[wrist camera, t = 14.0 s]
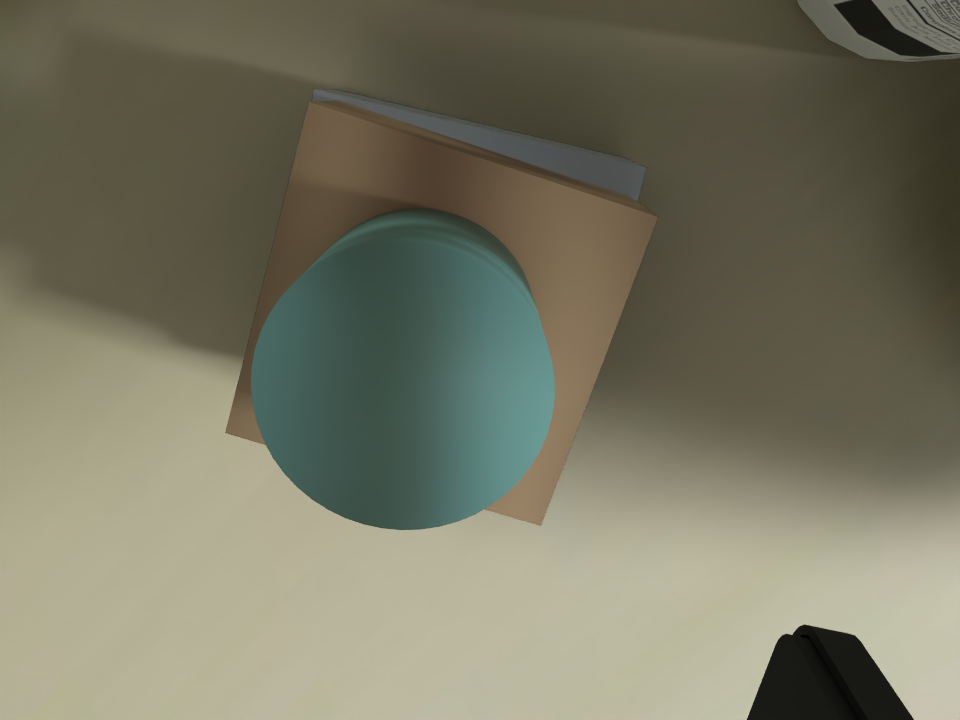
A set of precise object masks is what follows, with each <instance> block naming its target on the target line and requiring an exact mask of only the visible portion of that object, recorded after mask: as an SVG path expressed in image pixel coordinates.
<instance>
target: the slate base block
mask: <svg viewBox="0 0 960 720" xmlns="http://www.w3.org/2000/svg"><path fill="white" fill-rule="evenodd" d="M312 101H342V102H345V103H348V104H351V105H354V106H357V107H360V108H363V109H366V110H369V111H372V112H375V113H378V114H381V115H384V116H387V117H390V118H393V119H396V120H399V121H403V122H406V123H409V124H412V125H415V126H418V127H421V128H424V129H427V130H430V131H433V132H436V133H439V134H442V135H445V136H448V137H451V138H454V139H457V140H460V141H463V142H466V143H469V144H472V145H475V146H478V147H481V148H484V149H487V150H490V151H493V152H496V153H499V154H502V155H505V156H508V157H511V158H514V159H517V160H520V161H523V162H526V163H529V164H532V165H535V166H538V167H541V168H544V169H547V170H551V171H554V172H557V173H560V174H563V175H566V176H569V177H572V178H575V179H578V180H581V181H584V182H587V183H590V184H593V185H596V186H599V187H602V188H605V189H608V190H611V191H614V192H617V193H620V194H623V195H626V196H629V197H631V198H632V199H634V200H635V201H636V202H637V201H638V198H639V194H640V190H641V187H642V183H643V180H644V176H645V172H646V169H647V168H646V167H644V166H641V165H639V164H637V163H635V162H633V161H630V160H628V159H626V158H623V157H619V156H614V155H610V154H606V153H602V152H597V151H593V150H589V149H585V148H581V147H576V146H572V145H568V144H564V143H559V142H555V141H551V140H547V139H543V138H538V137H534V136H530V135H526V134H522V133H517V132H513V131H509V130H505V129H500V128H496V127H492V126H488V125H484V124H479V123H475V122H471V121H467V120H462V119H458V118H454V117H450V116H446V115H441V114H437V113H433V112H429V111H424V110H420V109H416V108H412V107H408V106H403V105H399V104H395V103H391V102H387V101H382V100H378V99H374V98H370V97H365V96H361V95H357V94H353V93H349V92H344V91H340V90H326V89H314V92H313V98H312Z"/></svg>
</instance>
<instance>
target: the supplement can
mask: <svg viewBox="0 0 960 720" xmlns="http://www.w3.org/2000/svg"><path fill="white" fill-rule="evenodd" d="M797 1H798V4H799V6H800V7H801V9H802V10H803V11H804V12H805V13H806V14H807V16H808V17H809V18H810V19H811V20H812V21H813V23H814V24H815V25H816V26H817V27H818V28H819V29H820V31H821V32H822V33H823V34H824V35H825V36H826V38H827V39H828V40H830V41H832V42H834V43H836V44H838V45H840V46H842V47H844V48H846V49H848V50H850V51H852V52H854V53H856V54H858V55H860V56H862V57H864V58H867V59H880V60H893V61H906V62H914V61H928V60H942V59H955V58H960V0H797Z"/></svg>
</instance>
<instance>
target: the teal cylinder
mask: <svg viewBox="0 0 960 720" xmlns="http://www.w3.org/2000/svg"><path fill="white" fill-rule="evenodd" d="M251 392H252V402H253V408H254V412H255V416H256V421H257V424H258V427H259V430H260V432H261V435H262V437H263V440H264V442H265V444H266V446H267V448H268V449H269V451H270V453H271V455H272V457H273V458H274V460H275V461H276V463H277V464H278V465H279V467H280V468H281V469H282V471H283V472H284V474H285V475H286V476H287V477H288V478H289V479H290V480H291V481H292V482H293V483H294V484H295V485H296V486H297V487H298V488H299V489H300V490H301V491H303V492H304V493H305V494H306V495H307V496H309V497H310V498H311V499H312V500H314V501H315V502H317V503H319V504H320V505H322V506H323V507H325V508H326V509H328V510H330V511H332V512H334V513H336V514H338V515H340V516H342V517H344V518H347V519H350V520H353V521H356V522H359V523H362V524H365V525H370V526H375V527H379V528H386V529H397V530H416V529H426V528H433V527H439V526H443V525H447V524H450V523H454V522H457V521H460V520H462V519H465V518H467V517H470V516H472V515H474V514H476V513H478V512H480V511H482V510H483V509H485V508H487V507H489V506H490V505H492V504H493V503H495V502H496V501H497V500H499V499H500V498H501V497H503V496H504V495H505V494H506V493H507V492H508V491H510V490H511V489H512V488H513V487H514V486H515V485H516V484H517V483H518V482H519V481H520V479H521V478H522V477H523V476H524V474H525V473H526V472H527V471H528V470H529V468H530V467H531V465H532V464H533V462H534V460H535V459H536V457H537V455H538V454H539V452H540V450H541V447H542V445H543V443H544V441H545V438H546V436H547V433H548V430H549V426H550V422H551V419H552V414H553V407H554V399H555V379H554V371H553V364H552V359H551V355H550V352H549V348H548V345H547V341H546V338H545V335H544V331H543V328H542V325H541V321H540V318H539V315H538V311H537V308H536V305H535V302H534V298H533V295H532V292H531V288H530V285H529V283H528V281H527V278H526V276H525V274H524V272H523V270H522V268H521V267H520V265H519V263H518V262H517V260H516V258H515V257H514V256H513V255H512V253H511V252H510V251H509V250H508V248H507V247H506V246H505V245H504V244H503V243H502V242H501V241H500V240H499V239H497V238H496V237H495V236H494V235H493V234H491V233H490V232H489V231H487V230H486V229H485V228H483V227H482V226H480V225H478V224H476V223H474V222H472V221H471V220H469V219H466V218H464V217H461V216H459V215H456V214H453V213H449V212H445V211H441V210H434V209H425V208H414V209H402V210H396V211H390V212H387V213H384V214H380V215H377V216H375V217H372V218H370V219H368V220H366V221H364V222H362V223H360V224H359V225H357V226H355V227H354V228H352V229H351V230H349V231H348V232H347V233H346V234H344V235H343V236H342V237H341V238H340V239H338V240H337V241H336V242H335V243H334V244H333V245H332V246H331V247H330V248H329V249H328V250H327V251H326V252H325V253H324V254H323V255H322V256H321V257H320V258H319V259H318V260H317V261H316V262H315V263H314V264H313V265H312V266H310V267H309V268H308V269H307V270H306V271H305V272H304V273H303V274H302V275H301V276H300V277H299V278H298V279H297V280H296V281H295V282H294V283H293V284H292V285H291V286H290V287H289V289H288V290H287V291H286V292H285V293H284V294H283V295H282V296H281V297H280V299H279V300H278V302H277V303H276V305H275V306H274V308H273V309H272V311H271V312H270V314H269V315H268V318H267V320H266V322H265V324H264V326H263V328H262V330H261V332H260V335H259V338H258V341H257V344H256V348H255V352H254V357H253V363H252V371H251Z"/></svg>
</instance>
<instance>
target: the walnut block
mask: <svg viewBox="0 0 960 720" xmlns="http://www.w3.org/2000/svg"><path fill="white" fill-rule="evenodd" d="M414 208H425V209H434V210H441V211H445V212H449V213H453V214H456V215H459V216H461V217H464V218H466V219H469V220H471V221H472V222H474V223H476V224H478V225H480V226H482V227H483V228H485V229H486V230H487V231H489V232H490V233H491V234H493V235H494V236H495V237H496V238H497V239H499V240H500V241H501V242H502V243H503V244H504V245H505V246H506V247H507V248H508V250H509V251H510V252H511V253H512V255H513V256H514V257H515V258H516V260H517V262H518V263H519V265H520V267H521V268H522V270H523V272H524V274H525V276H526V278H527V281H528V283H529V285H530V288H531V292H532V295H533V298H534V302H535V305H536V308H537V311H538V315H539V318H540V321H541V325H542V328H543V331H544V335H545V338H546V341H547V345H548V348H549V352H550V355H551V359H552V364H553V371H554V379H555V399H554V407H553V414H552V419H551V422H550V426H549V430H548V433H547V436H546V438H545V441H544V443H543V445H542V447H541V450H540V452H539V454H538V455H537V457H536V459H535V460H534V462H533V464H532V465H531V467H530V468H529V470H528V471H527V472H526V473H525V474H524V476H523V477H522V478H521V479H520V481H519V482H518V483H517V484H516V485H515V486H514V487H513V488H512V489H511V490H510V491H508V492H507V493H506V494H505V495H504V496H503V497H501V498H500V499H499V500H497V501H496V502H495V503H493V504H492V505H490V506H489V507H487V508H485V510H489V511H492V512H496V513H499V514H502V515H506V516H509V517H513V518H516V519H519V520H523V521H526V522H530V523H533V524H536V525H540V526H541V524H542V521H543V519H544V516H545V513H546V511H547V508H548V506H549V503H550V500H551V498H552V495H553V492H554V490H555V487H556V484H557V482H558V479H559V477H560V474H561V471H562V469H563V466H564V463H565V461H566V458H567V456H568V453H569V450H570V448H571V445H572V442H573V440H574V437H575V435H576V432H577V429H578V427H579V424H580V421H581V419H582V416H583V414H584V411H585V408H586V406H587V403H588V400H589V398H590V395H591V393H592V390H593V387H594V385H595V382H596V379H597V377H598V374H599V372H600V369H601V366H602V364H603V361H604V358H605V356H606V353H607V351H608V348H609V345H610V343H611V340H612V337H613V335H614V332H615V329H616V327H617V324H618V322H619V319H620V316H621V314H622V311H623V308H624V306H625V303H626V301H627V298H628V295H629V293H630V290H631V287H632V285H633V282H634V280H635V277H636V274H637V272H638V269H639V266H640V264H641V261H642V259H643V256H644V253H645V251H646V248H647V245H648V243H649V240H650V238H651V235H652V232H653V230H654V227H655V224H656V222H657V219H658V216H656V215H655V214H654V213H652V212H651V211H649V210H648V209H646V208H645V207H644V206H642V205H641V204H639V203H638V202H636V201H635V200H634V199H632V198H631V197H629V196H626V195H623V194H620V193H617V192H614V191H611V190H608V189H605V188H602V187H599V186H596V185H593V184H590V183H587V182H584V181H581V180H578V179H575V178H572V177H569V176H566V175H563V174H560V173H557V172H554V171H551V170H547V169H544V168H541V167H538V166H535V165H532V164H529V163H526V162H523V161H520V160H517V159H514V158H511V157H508V156H505V155H502V154H499V153H496V152H493V151H490V150H487V149H484V148H481V147H478V146H475V145H472V144H469V143H466V142H463V141H460V140H457V139H454V138H451V137H448V136H445V135H442V134H439V133H436V132H433V131H430V130H427V129H424V128H421V127H418V126H415V125H412V124H409V123H406V122H403V121H399V120H396V119H393V118H390V117H387V116H384V115H381V114H378V113H375V112H372V111H369V110H366V109H363V108H360V107H357V106H354V105H351V104H348V103H345V102H342V101H312V102H309V103H308V107H307V111H306V115H305V119H304V123H303V127H302V131H301V135H300V139H299V143H298V147H297V151H296V155H295V159H294V163H293V167H292V171H291V174H290V178H289V182H288V186H287V190H286V194H285V198H284V202H283V206H282V210H281V214H280V218H279V222H278V226H277V230H276V234H275V238H274V242H273V246H272V250H271V254H270V258H269V262H268V266H267V270H266V274H265V277H264V281H263V285H262V289H261V293H260V297H259V301H258V305H257V309H256V313H255V317H254V321H253V325H252V329H251V333H250V337H249V341H248V345H247V349H246V353H245V357H244V361H243V365H242V369H241V373H240V376H239V380H238V384H237V388H236V392H235V396H234V400H233V404H232V408H231V412H230V416H229V420H228V424H227V428H226V432H225V433H227V434H231V435H234V436H237V437H241V438H244V439H248V440H251V441H254V442H258V443H261V444H264V445H266V444H265V442H264V440H263V437H262V435H261V432H260V430H259V427H258V424H257V421H256V416H255V412H254V408H253V402H252V392H251V371H252V363H253V357H254V352H255V348H256V344H257V341H258V338H259V335H260V332H261V330H262V328H263V326H264V324H265V322H266V320H267V318H268V315H269V314H270V312H271V311H272V309H273V308H274V306H275V305H276V303H277V302H278V300H279V299H280V297H281V296H282V295H283V294H284V293H285V292H286V291H287V290H288V289H289V287H290V286H291V285H292V284H293V283H294V282H295V281H296V280H297V279H298V278H299V277H300V276H301V275H302V274H303V273H304V272H305V271H306V270H307V269H308V268H309V267H310V266H312V265H313V264H314V263H315V262H316V261H317V260H318V259H319V258H320V257H321V256H322V255H323V254H324V253H325V252H326V251H327V250H328V249H329V248H330V247H331V246H332V245H333V244H334V243H335V242H336V241H337V240H338V239H340V238H341V237H342V236H343V235H344V234H346V233H347V232H348V231H349V230H351V229H352V228H354V227H355V226H357V225H359V224H360V223H362V222H364V221H366V220H368V219H370V218H372V217H375V216H377V215H380V214H384V213H387V212H390V211H396V210H402V209H414Z"/></svg>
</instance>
